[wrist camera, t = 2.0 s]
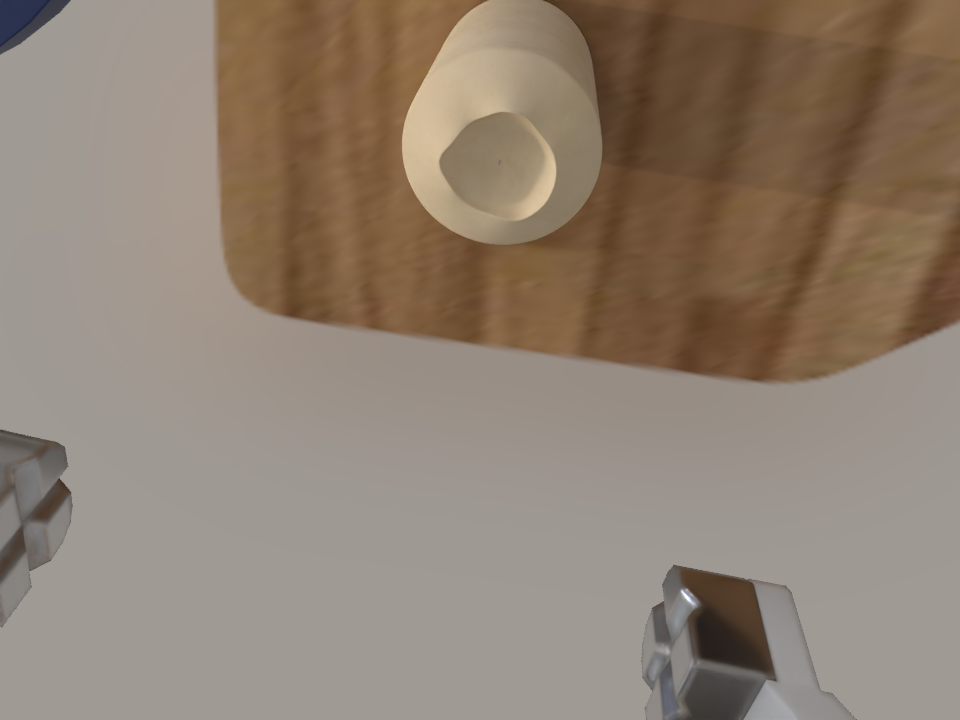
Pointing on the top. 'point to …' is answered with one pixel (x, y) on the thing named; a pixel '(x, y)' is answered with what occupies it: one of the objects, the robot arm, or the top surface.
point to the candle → (506, 125)
